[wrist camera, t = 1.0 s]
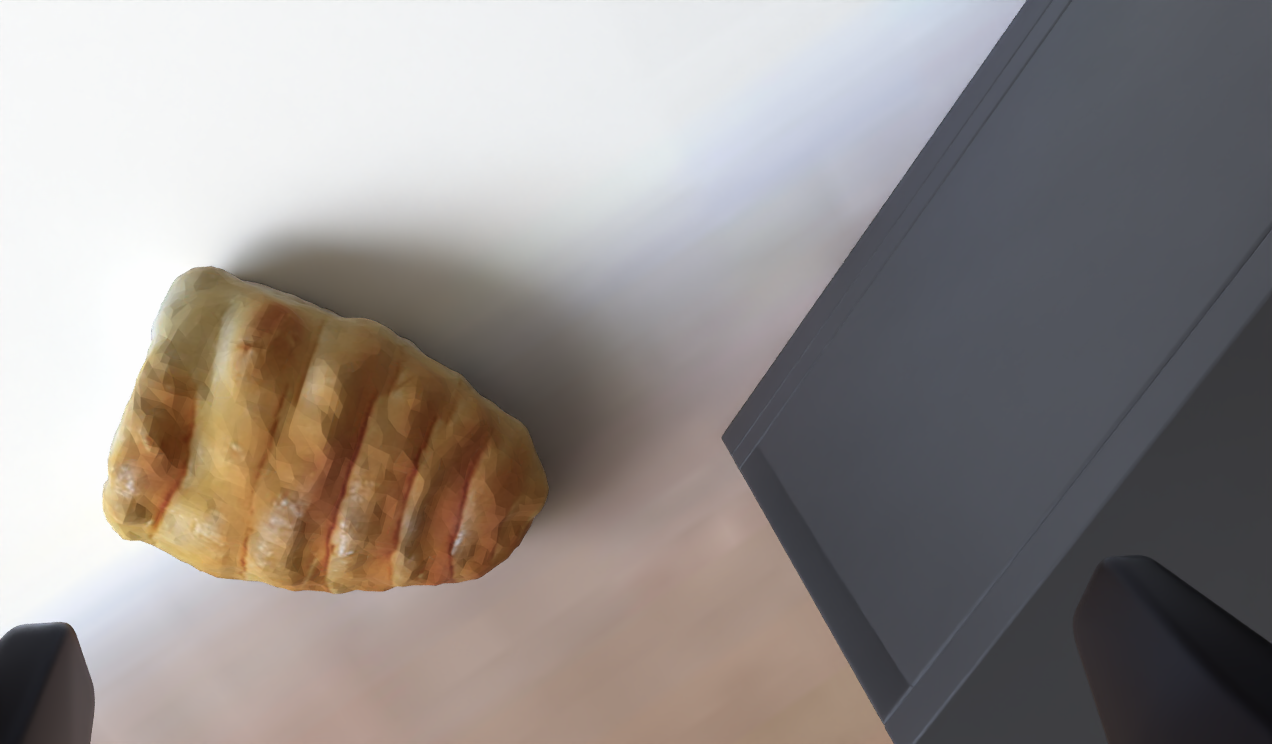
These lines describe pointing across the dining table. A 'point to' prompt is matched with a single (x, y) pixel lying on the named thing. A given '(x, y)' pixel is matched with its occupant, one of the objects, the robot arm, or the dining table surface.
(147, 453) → the pastry
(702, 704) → the dining table surface
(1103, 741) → the oven
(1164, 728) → the robot arm
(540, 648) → the dining table surface
